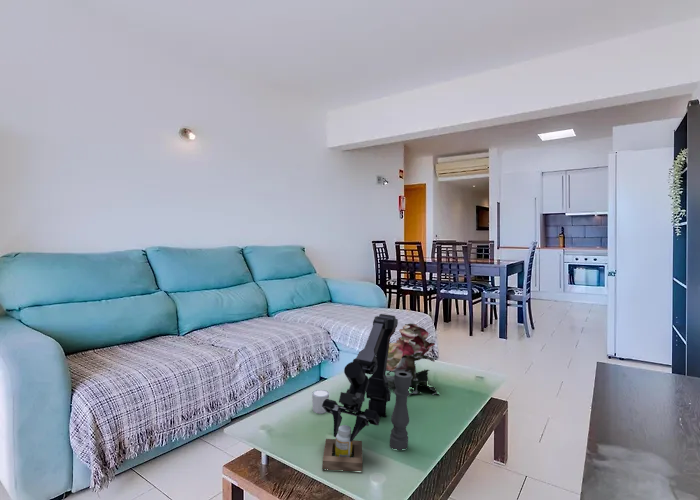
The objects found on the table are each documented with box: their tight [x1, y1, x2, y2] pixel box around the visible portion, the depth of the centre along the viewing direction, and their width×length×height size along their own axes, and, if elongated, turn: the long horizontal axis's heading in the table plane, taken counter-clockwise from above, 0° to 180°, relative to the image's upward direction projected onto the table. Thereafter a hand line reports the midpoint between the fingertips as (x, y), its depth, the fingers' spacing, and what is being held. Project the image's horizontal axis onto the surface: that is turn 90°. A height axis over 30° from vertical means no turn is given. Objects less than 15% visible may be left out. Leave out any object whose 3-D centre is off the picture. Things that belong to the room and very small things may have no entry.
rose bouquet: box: [386, 322, 437, 396], centre depth 181 cm, size 26×29×30 cm
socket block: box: [321, 438, 363, 472], centre depth 121 cm, size 12×12×3 cm
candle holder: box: [389, 371, 411, 450], centre depth 130 cm, size 6×6×25 cm
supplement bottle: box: [334, 424, 353, 457], centre depth 121 cm, size 5×5×10 cm
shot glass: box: [311, 389, 330, 415], centre depth 153 cm, size 7×7×7 cm
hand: (342, 439), depth 120 cm, fingers closed on supplement bottle, 5 cm apart
